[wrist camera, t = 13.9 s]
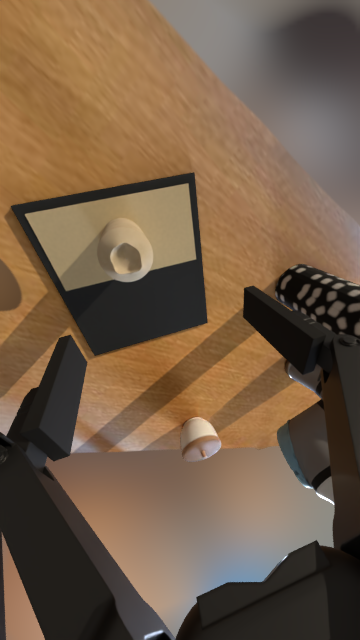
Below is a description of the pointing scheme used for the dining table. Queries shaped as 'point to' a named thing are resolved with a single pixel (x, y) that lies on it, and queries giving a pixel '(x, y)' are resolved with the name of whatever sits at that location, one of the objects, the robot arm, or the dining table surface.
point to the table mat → (102, 290)
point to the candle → (124, 251)
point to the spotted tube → (322, 298)
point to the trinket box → (198, 440)
